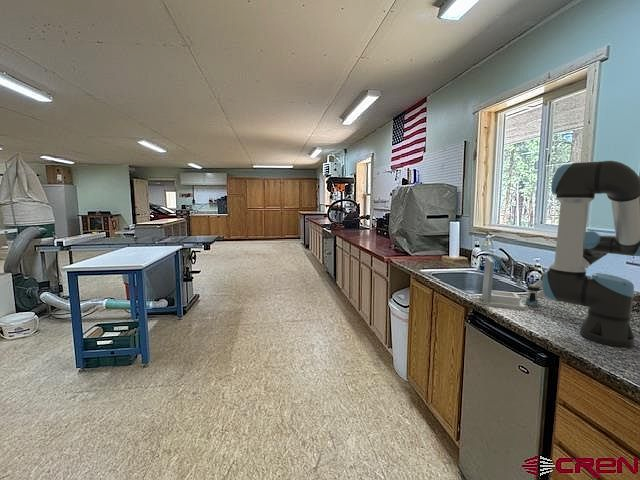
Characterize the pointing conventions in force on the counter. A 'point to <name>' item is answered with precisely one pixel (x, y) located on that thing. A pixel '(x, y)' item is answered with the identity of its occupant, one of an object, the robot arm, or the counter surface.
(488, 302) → the holder
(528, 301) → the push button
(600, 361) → the counter surface
